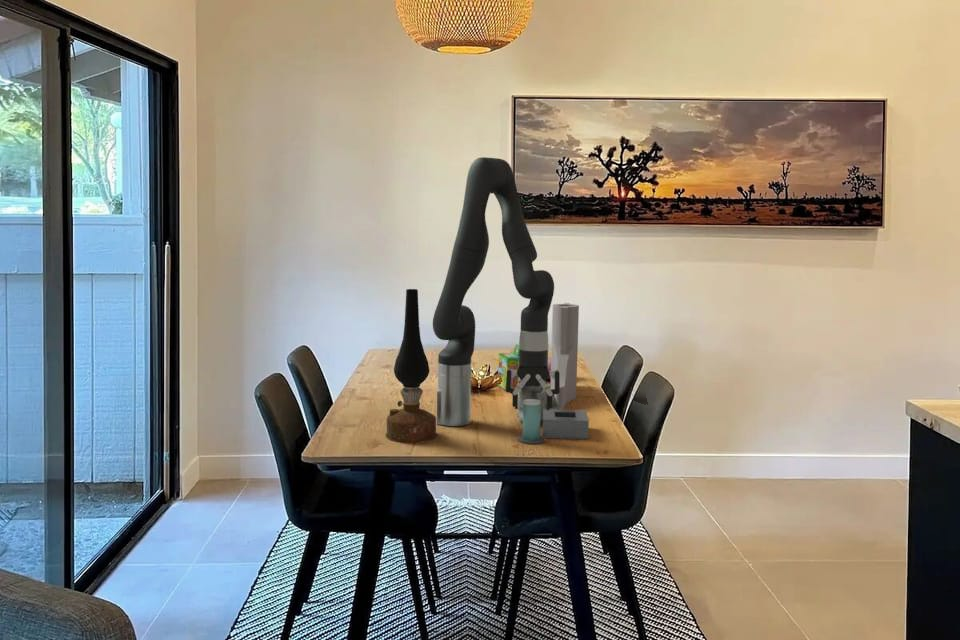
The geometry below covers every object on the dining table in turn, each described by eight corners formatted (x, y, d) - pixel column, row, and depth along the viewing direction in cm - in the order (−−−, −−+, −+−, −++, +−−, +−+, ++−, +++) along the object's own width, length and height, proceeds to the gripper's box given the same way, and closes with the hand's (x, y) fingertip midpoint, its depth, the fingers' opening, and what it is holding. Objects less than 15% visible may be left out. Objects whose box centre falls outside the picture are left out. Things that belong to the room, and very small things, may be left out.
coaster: (517, 443, 220) (517, 441, 220) (518, 436, 227) (518, 434, 227) (544, 444, 219) (545, 442, 219) (544, 437, 226) (544, 435, 226)
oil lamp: (445, 449, 226) (479, 303, 222) (401, 449, 215) (436, 297, 212) (412, 432, 236) (445, 292, 232) (369, 432, 225) (402, 285, 221)
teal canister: (522, 440, 221) (522, 403, 219) (522, 435, 225) (523, 398, 224) (540, 440, 221) (540, 403, 219) (539, 436, 225) (540, 399, 224)
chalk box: (497, 386, 290) (497, 343, 288) (522, 384, 292) (523, 342, 290) (505, 391, 281) (506, 347, 279) (531, 390, 284) (532, 346, 282)
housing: (542, 437, 226) (543, 419, 225) (542, 426, 238) (542, 408, 237) (588, 439, 225) (588, 420, 224) (585, 427, 237) (585, 410, 236)
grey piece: (572, 411, 256) (575, 312, 252) (545, 409, 257) (547, 311, 253) (578, 386, 291) (581, 299, 287) (554, 385, 293) (556, 299, 289)
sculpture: (513, 426, 238) (514, 373, 236) (524, 408, 258) (525, 360, 256) (551, 428, 236) (553, 375, 234) (560, 411, 256) (561, 362, 254)
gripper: (505, 349, 216) (504, 411, 219) (561, 350, 216) (560, 413, 218) (506, 344, 224) (505, 404, 226) (560, 345, 223) (559, 406, 225)
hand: (532, 408), depth 222 cm, fingers open, 8 cm apart
